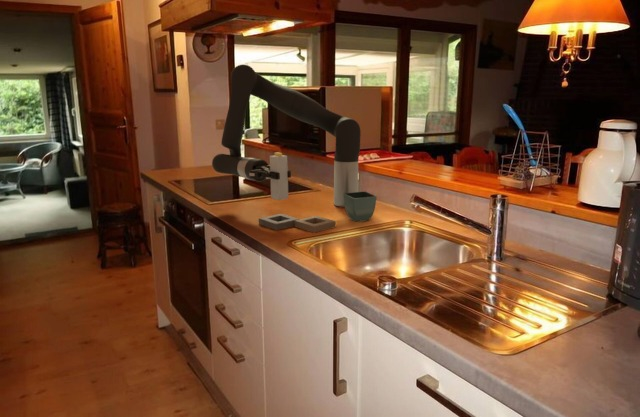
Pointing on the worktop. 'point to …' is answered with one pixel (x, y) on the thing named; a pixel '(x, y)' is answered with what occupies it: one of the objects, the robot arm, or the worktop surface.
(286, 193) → the plug
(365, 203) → the flower pot
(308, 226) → the socket
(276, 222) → the socket
